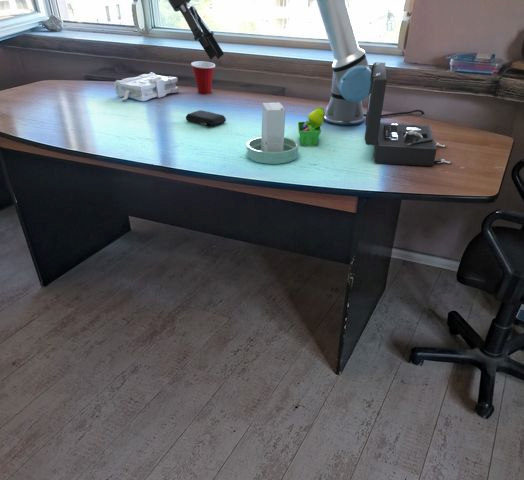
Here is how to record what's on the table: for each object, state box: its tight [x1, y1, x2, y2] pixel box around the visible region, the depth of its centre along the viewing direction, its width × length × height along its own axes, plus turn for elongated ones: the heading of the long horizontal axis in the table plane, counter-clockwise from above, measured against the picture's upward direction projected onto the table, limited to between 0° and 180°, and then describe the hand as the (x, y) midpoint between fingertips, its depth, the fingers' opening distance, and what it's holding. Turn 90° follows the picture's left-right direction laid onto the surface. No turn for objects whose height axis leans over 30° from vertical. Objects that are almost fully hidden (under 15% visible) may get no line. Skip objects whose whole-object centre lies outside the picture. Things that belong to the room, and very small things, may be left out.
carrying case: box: [185, 109, 227, 128], centre depth 185 cm, size 11×3×15 cm
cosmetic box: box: [260, 102, 287, 152], centre depth 153 cm, size 8×6×15 cm
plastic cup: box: [190, 60, 216, 95], centre depth 220 cm, size 11×11×12 cm
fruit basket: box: [297, 106, 326, 147], centre depth 166 cm, size 11×9×11 cm
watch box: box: [364, 61, 451, 167], centre depth 153 cm, size 26×28×24 cm
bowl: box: [246, 136, 299, 165], centre depth 157 cm, size 17×17×4 cm
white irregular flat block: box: [113, 71, 179, 102], centre depth 217 cm, size 19×28×8 cm
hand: (217, 56), depth 159 cm, fingers open, 13 cm apart
